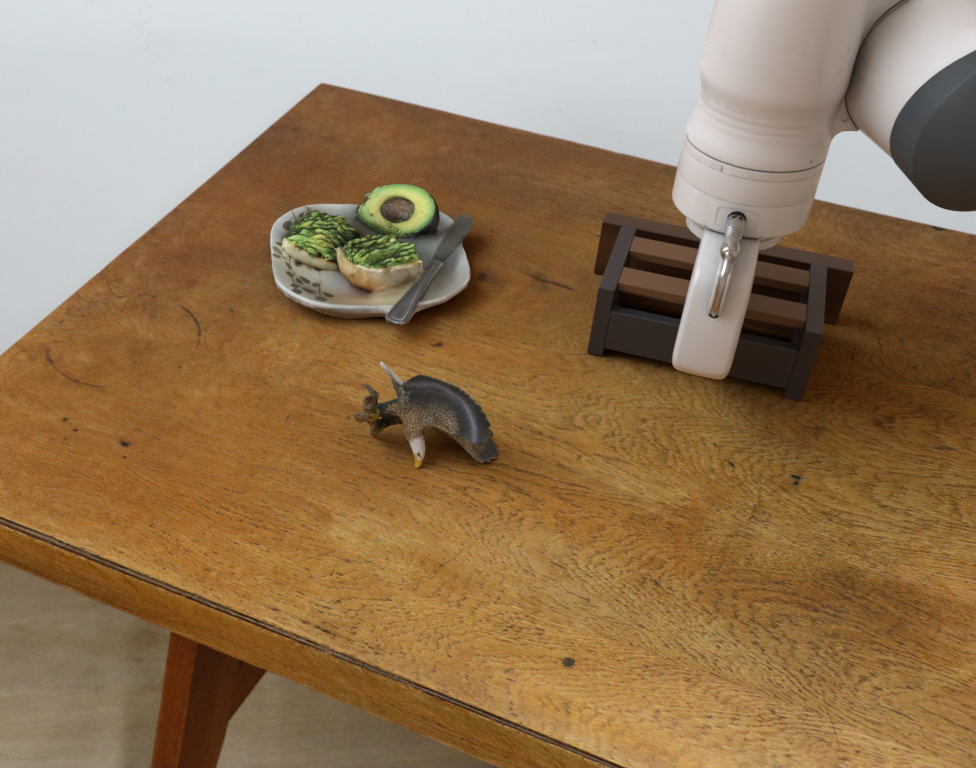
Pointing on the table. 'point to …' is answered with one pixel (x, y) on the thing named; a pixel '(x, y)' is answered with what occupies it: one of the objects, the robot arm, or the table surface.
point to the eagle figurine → (430, 415)
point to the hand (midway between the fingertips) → (700, 354)
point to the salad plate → (371, 255)
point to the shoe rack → (658, 332)
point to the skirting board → (837, 267)
